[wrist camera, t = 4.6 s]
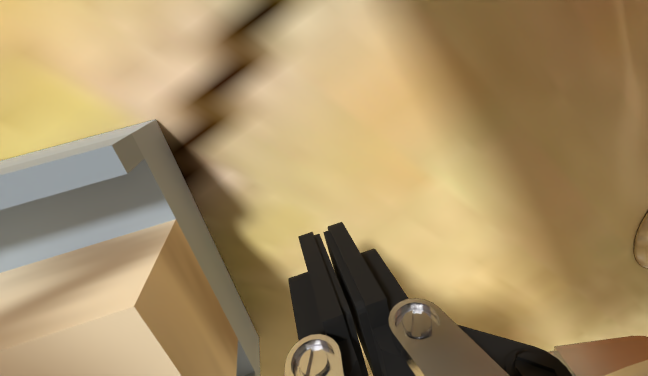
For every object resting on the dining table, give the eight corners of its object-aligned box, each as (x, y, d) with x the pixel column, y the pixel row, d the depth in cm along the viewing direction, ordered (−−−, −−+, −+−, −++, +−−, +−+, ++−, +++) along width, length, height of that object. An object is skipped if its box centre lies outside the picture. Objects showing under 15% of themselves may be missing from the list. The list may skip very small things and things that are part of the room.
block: (176, 219, 10) (133, 306, 6) (238, 339, 13) (232, 450, 9) (-17, 277, 9) (-185, 412, 6) (89, 392, 12) (19, 535, 8)
